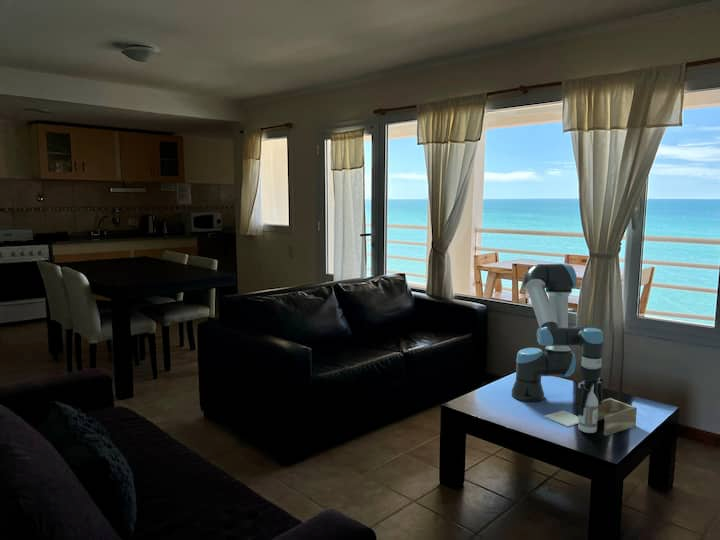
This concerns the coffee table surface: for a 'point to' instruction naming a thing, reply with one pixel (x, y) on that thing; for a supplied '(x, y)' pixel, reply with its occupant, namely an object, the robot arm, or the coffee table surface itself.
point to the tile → (563, 418)
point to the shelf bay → (616, 416)
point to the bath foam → (590, 413)
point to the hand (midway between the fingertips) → (587, 420)
